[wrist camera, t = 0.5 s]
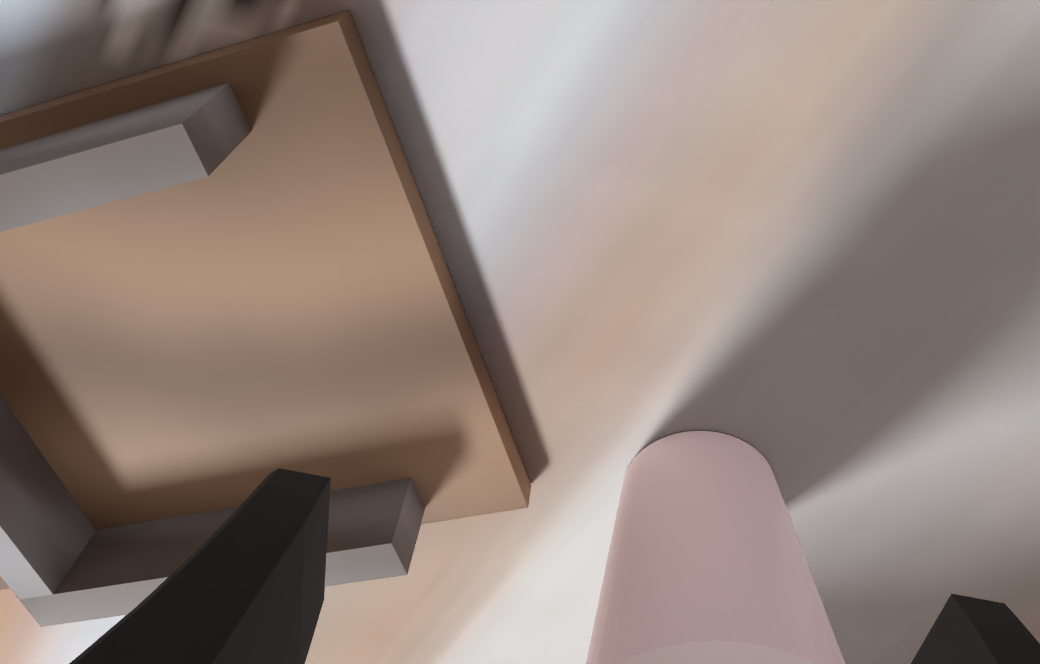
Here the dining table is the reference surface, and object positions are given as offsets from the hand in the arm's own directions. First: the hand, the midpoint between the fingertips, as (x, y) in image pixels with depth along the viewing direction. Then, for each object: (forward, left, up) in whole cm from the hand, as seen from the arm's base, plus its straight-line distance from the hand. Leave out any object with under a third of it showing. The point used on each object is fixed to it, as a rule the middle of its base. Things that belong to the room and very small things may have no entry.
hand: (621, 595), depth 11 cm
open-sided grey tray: (0, +14, -10) cm, 17 cm away
